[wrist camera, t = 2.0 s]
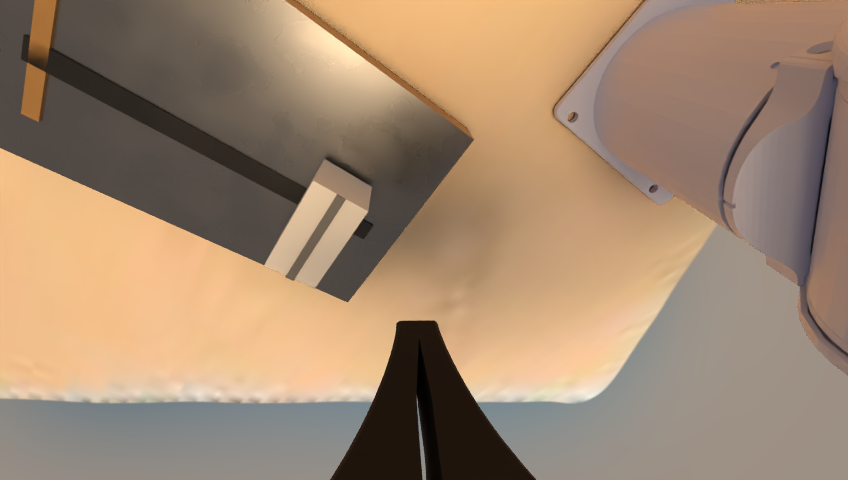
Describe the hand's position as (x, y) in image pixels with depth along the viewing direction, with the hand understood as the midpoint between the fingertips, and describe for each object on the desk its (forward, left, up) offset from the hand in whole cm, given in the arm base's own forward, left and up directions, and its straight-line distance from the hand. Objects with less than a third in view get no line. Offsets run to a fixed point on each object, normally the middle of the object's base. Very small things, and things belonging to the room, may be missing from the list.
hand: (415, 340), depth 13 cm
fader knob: (+4, +1, -7) cm, 8 cm away
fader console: (+9, 0, -9) cm, 13 cm away
